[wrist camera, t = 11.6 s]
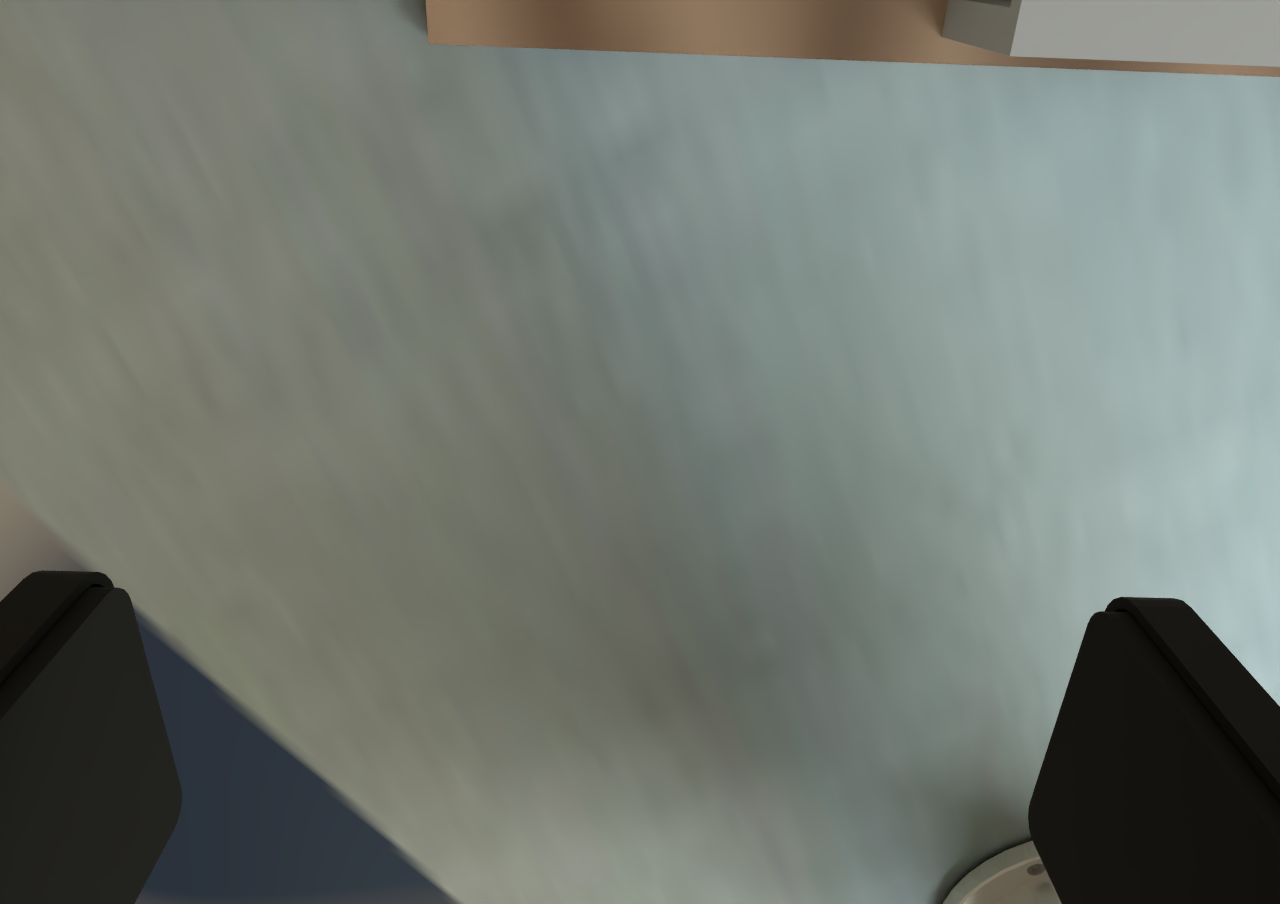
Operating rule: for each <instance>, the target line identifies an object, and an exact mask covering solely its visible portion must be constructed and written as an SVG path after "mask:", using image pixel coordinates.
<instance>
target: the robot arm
mask: <svg viewBox="0 0 1280 904" xmlns="http://www.w3.org/2000/svg"><path fill="white" fill-rule="evenodd" d="M181 804H182V791H181V785H180V782H179V778H178V774H177V771H176V767H175V763H174V759H173V756H172V752H171V748H170V744H169V741H168V737H167V733H166V729H165V725H164V722H163V718H162V714H161V711H160V707H159V703H158V699H157V695H156V692H155V688H154V684H153V681H152V677H151V673H150V669H149V666H148V662H147V658H146V655H145V651H144V647H143V643H142V640H141V636H140V632H139V628H138V624H137V621H136V617H135V613H134V609H133V606H132V602H131V599H130V597H129V594H128V593H127V592H126V591H125V590H124V589H121V588H114V586H113V584H112V581H111V580H110V579H109V578H108V577H107V576H106V575H105V574H102V573H100V572H76V571H75V572H74V571H38V572H33V573H31V574H30V575H28V576H27V577H26V578H24V579H23V580H22V581H21V582H20V583H19V584H18V585H17V586H16V587H15V588H14V589H13V590H12V591H11V592H10V593H9V594H8V595H7V596H6V597H5V598H4V599H3V600H2V601H1V602H0V904H134V903H135V901H136V899H137V898H138V896H139V894H140V892H141V890H142V888H143V887H144V885H145V883H146V881H147V879H148V877H149V875H150V874H151V872H152V870H153V868H154V866H155V864H156V862H157V860H158V859H159V857H160V855H161V853H162V851H163V849H164V847H165V846H166V844H167V842H168V840H169V838H170V836H171V834H172V833H173V831H174V828H175V826H176V824H177V821H178V818H179V814H180V810H181ZM1028 820H1029V829H1030V833H1031V838H1032V840H1033V841H1029V842H1026V843H1024V844H1021V845H1018V846H1016V847H1013V848H1010V849H1008V850H1005V851H1004V852H1002V853H1000V854H998V855H996V856H994V857H992V858H990V859H988V860H986V861H985V862H983V863H982V864H981V865H979V866H978V867H976V868H975V869H974V870H972V871H971V872H969V873H968V874H967V875H966V876H965V877H964V878H963V879H962V880H961V881H960V882H959V883H958V884H957V885H956V886H955V887H954V888H953V889H952V891H951V892H950V894H949V895H948V896H947V898H946V899H945V901H944V902H943V904H1280V707H1279V705H1278V704H1277V703H1276V702H1275V701H1274V700H1273V699H1272V698H1271V696H1270V695H1269V694H1268V693H1267V692H1266V691H1265V690H1264V689H1263V687H1262V686H1261V685H1260V684H1259V683H1258V682H1257V681H1256V680H1255V679H1254V677H1253V676H1252V675H1251V674H1250V673H1249V672H1248V671H1247V670H1246V668H1245V667H1244V666H1243V665H1242V664H1241V663H1240V662H1239V661H1238V660H1237V658H1236V657H1235V656H1234V655H1233V654H1232V653H1231V652H1230V651H1229V649H1228V648H1227V647H1226V646H1225V645H1224V644H1223V643H1222V642H1221V640H1220V639H1219V638H1218V637H1217V636H1216V635H1215V634H1214V633H1213V632H1212V630H1211V629H1210V628H1209V627H1208V626H1207V625H1206V624H1205V623H1204V621H1203V620H1202V619H1201V618H1200V617H1199V616H1198V615H1197V614H1196V613H1195V611H1194V610H1193V609H1192V608H1191V607H1190V606H1189V605H1187V604H1186V603H1185V602H1184V601H1182V600H1178V599H1175V598H1136V597H1120V598H1116V599H1113V600H1112V601H1111V602H1110V603H1109V604H1108V606H1107V608H1106V610H1105V612H1097V613H1095V614H1094V615H1093V616H1092V617H1091V618H1090V621H1089V623H1088V625H1087V628H1086V631H1085V634H1084V637H1083V640H1082V644H1081V647H1080V650H1079V653H1078V656H1077V659H1076V662H1075V665H1074V668H1073V671H1072V674H1071V677H1070V681H1069V684H1068V687H1067V690H1066V693H1065V696H1064V699H1063V702H1062V705H1061V708H1060V711H1059V715H1058V718H1057V721H1056V724H1055V727H1054V730H1053V733H1052V736H1051V739H1050V742H1049V745H1048V748H1047V752H1046V755H1045V758H1044V761H1043V764H1042V767H1041V770H1040V773H1039V776H1038V779H1037V782H1036V786H1035V789H1034V792H1033V795H1032V798H1031V801H1030V805H1029V812H1028Z"/></svg>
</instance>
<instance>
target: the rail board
mask: <svg viewBox="0 0 1280 904" xmlns="http://www.w3.org/2000/svg"><path fill="white" fill-rule="evenodd" d="M947 3H948V0H426V15H427V30H428V44H446V45H472V46H497V47H523V48H549V49H575V50H601V51H626V52H652V53H678V54H704V55H730V56H756V57H781V58H807V59H833V60H859V61H885V62H910V63H936V64H962V65H988V66H1014V67H1040V68H1065V69H1091V70H1117V71H1143V72H1169V73H1195V74H1220V75H1246V76H1272V77H1280V67H1271V66H1246V65H1220V64H1195V63H1169V62H1144V61H1118V60H1093V59H1067V58H1042V57H1016V56H1007V55H1004V54H1000V53H997V52H993V51H989V50H986V49H982V48H979V47H975V46H972V45H968V44H965V43H961V42H958V41H954V40H951V39H947V38H943V37H941V36H942V31H943V25H944V20H945V14H946V9H947Z"/></svg>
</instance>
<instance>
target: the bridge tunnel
mask: <svg viewBox="0 0 1280 904" xmlns="http://www.w3.org/2000/svg"><path fill="white" fill-rule="evenodd" d="M941 37H943V38H947V39H951V40H954V41H958V42H961V43H965V44H968V45H972V46H975V47H979V48H982V49H986V50H989V51H993V52H997V53H1000V54H1004V55H1007V56H1016V57H1042V58H1067V59H1093V60H1118V61H1144V62H1169V63H1195V64H1220V65H1246V66H1271V67H1280V0H948V3H947V9H946V14H945V20H944V25H943V31H942V36H941Z"/></svg>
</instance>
